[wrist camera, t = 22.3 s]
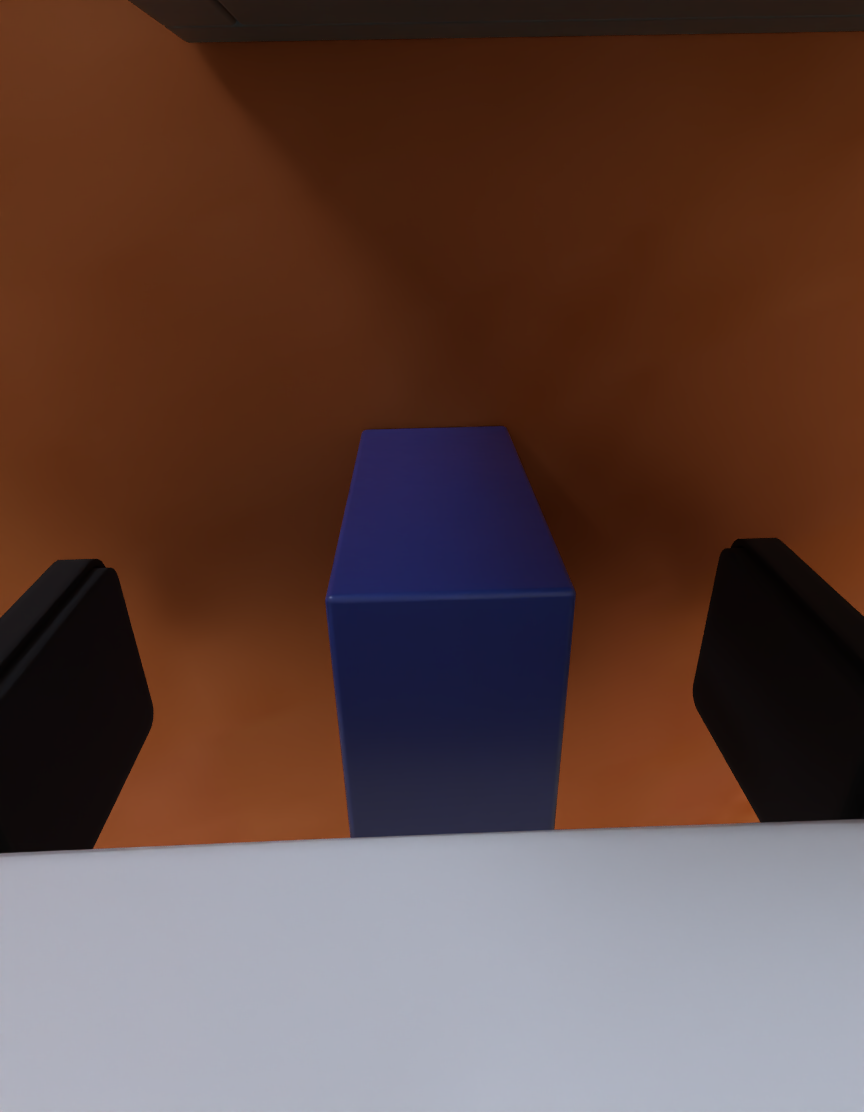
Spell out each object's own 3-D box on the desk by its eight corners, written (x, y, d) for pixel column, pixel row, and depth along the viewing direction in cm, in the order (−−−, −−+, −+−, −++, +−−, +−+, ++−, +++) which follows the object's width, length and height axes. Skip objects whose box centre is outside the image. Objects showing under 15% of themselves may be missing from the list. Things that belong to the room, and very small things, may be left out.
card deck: (361, 428, 11) (323, 598, 6) (507, 424, 11) (578, 589, 6) (381, 712, 14) (365, 979, 9) (497, 709, 14) (542, 973, 9)
